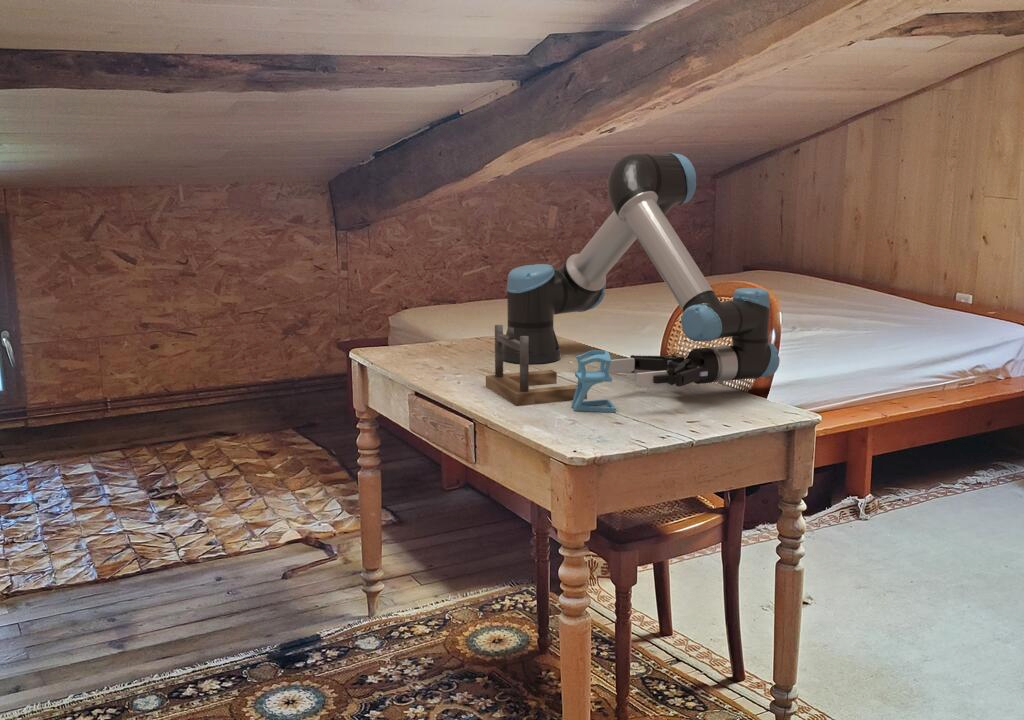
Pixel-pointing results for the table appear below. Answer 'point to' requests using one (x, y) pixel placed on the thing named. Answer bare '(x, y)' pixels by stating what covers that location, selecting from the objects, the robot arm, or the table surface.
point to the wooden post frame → (524, 376)
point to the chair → (592, 381)
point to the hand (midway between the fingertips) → (621, 373)
